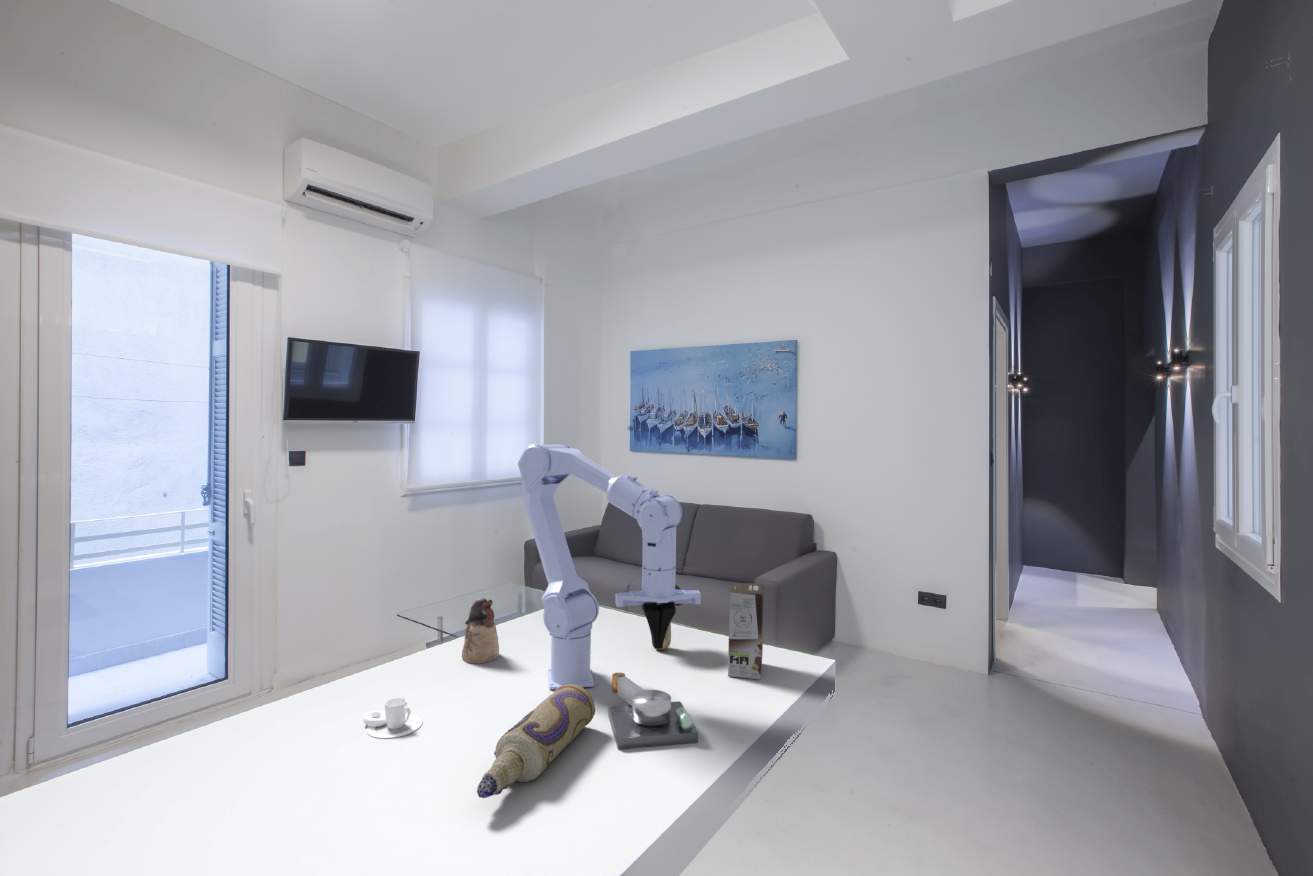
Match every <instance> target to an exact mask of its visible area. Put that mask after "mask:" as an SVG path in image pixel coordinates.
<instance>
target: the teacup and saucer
mask: <svg viewBox="0 0 1313 876" xmlns="http://www.w3.org/2000/svg"><path fill="white" fill-rule="evenodd" d="M407 701H408V700H407V699H406V698H402V697H396V698H390V699H388V700H387V701H385V703H384V710H380V709H379V710H378V709H377V710H371V711H368V712H367V713H366V714H365V715H364V716H363V723H364V724H365V726H367V727H366V731H365V732H366V733H367V735H369V736H370V737H373V738H375V739H395V738H401V737H404V736H406V735H409V734H411V733H414V732H415V731H417V730H418V729H420V728H421V727H422V725H423V719H422V718H421V717H420V716H418V715H415V714H411V708H410V707H409V706H407V705H408V704H407V703H408V702H407ZM409 720H410V721H413V725H412V726H411V728H409V729H407V730H405V731H403V732H399V733H395V734H381V733H379V732H377V731H376V728H378V727H379V728H380V727H383V726H385V725H387V728H388V729H390V730H398V729H400V728H402V727H403V726H404V725H405V724H406V723H407V722H408V721H409Z"/></svg>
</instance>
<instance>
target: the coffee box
mask: <svg viewBox="0 0 1313 876" xmlns="http://www.w3.org/2000/svg"><path fill="white" fill-rule="evenodd" d="M764 602H765V601H764V584H763V583H751V582H746V583H745V582H743V583H742V582H741V583H740V582H733V583H732V584H731V587H730V590H729V615H728V617H729V619H728V651H727V653H728V654H727V655H728V656H727V657H728V659H727V661H728V662H727V677H730V678H731V677H733V678H742V679H750V680H751V679H752V680H760V679H761V676H762V667H763V648H764V647H763V646H764V644H763V643H764V642H763V641H764V604H765V603H764Z"/></svg>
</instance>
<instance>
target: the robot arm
mask: <svg viewBox="0 0 1313 876" xmlns="http://www.w3.org/2000/svg"><path fill="white" fill-rule="evenodd" d="M517 466H518V469H519V471H520V472H519V473H520V476H521V480H522V481H521V496H522V501H523V504H524V507H525V511H526V514H527V517H528V520H529V524H530V527H531V531H532V535H533V538H534V541H535V544H536V548H537V551H538V554H539V559H540V562H541V563H542V564H541V565H542V567H543V572H544V575H545V578H546V582H547V584H548V586H547V588H546V589H545V592H544V593H543V595H542V598H541V601H542V605H543V616H542V617H543V618H542V619H543V623H544V625H545V628H546V629H547V631H548V632H549V636H551V645H550V646H551V647H550V649H551V650H550V651H551V652H550V654H551V655H550V656H551V657H550V667H548V668H547V678H548V679H547V680H548V688H549V689H550V690H556V689H557V688H558V687H560V686H562V685H565V684H574V685H578V686H581V687H583V688H592V687H595V682H594V678H593V674H592V671H591V653H592V652H591V646H592V644H591V643H592V629H593V623H594V622H595V621H596V620H597V618H598V616H599V614H600V613H599V612H600V605H599V602H598V599H597V598H596V596H594V594H593V593H592V592H591V590H590V587H589V584H588V582H587V581H585V580H584V579H583V578H581V577H580V576H578V574H577V572H576V568H575V565H574V562H573V561H574V560H573V559H572V555H571V552H570V551H571V550H570V549H569V545H568V542H567V538H566V535H565V532H564V528H563V525H562V522H561V519H560V515H559V512H558V509H557V506H556V502H555V499H554V495H555V493H556V491H558V488H559V487H560V486H561V484H563V483H564V482H565V481H566V479H568V477H569V476H570V475H572V476H573V477H574V476H575V477H576V478H578V479H580V480H582V481H584V482H586V483H587V484H589V485H591V486H593V487H595V488H597V489H598V490H600V491H602V492H604V493H605V494H606V499H607V501H608V503H610V504H611V505H613V506H614V507H616V508H618V509H619V510H621V511H623V512H624V513H626V514H627V515H629V516H630V517H632V518H634V519H635V520H636V521H637V524H638V526H639V527H640V529H641V539H642V554H641V555H642V556H641V558H642V560H641V561H642V563H641V564H642V565H641V566H642V567H641V589H642V590H641V589H639V590H633V591H624V592H615V596H614V597H615V601H614V602H615V607H617V608H622V607H625V606H627V607H628V606H641V609H642V611H643V613H644V616H645V618H646V620H647V624H648V628H649V632H650V636H651V643H652V644H651V645H652V647H653V648H654V650H658V649H662V648H663V643H664V638H665V635H666V632H667V629H668V626H669V624H670V622H671V623H672V620H673V619H674V616H675V614H676V612H677V611H676V606H674V604H682V605H684V604H686V605H687V604H694V605H701V604H702V603H701V602H702V601H701V599H702V592H700V591H699V590H698V589H696V590H693V589H692V590H691V589H690V590H689V589H687V590H686V589H681V590H675V584H676V572H677V571H676V570H677V569H676V567H677V566H676V565H677V526H678V525H679V524H680V522H681V521H682V516H683V509H682V505H681V503H680V502H679V501H678V500H677V499H676V498H675V497H674V496H673V495H671V494H663V495H660V494H659V490H658V489H656V488H650V487H648V486H645V484H643V483H641V482H640V481H637V479H638V477H637V476H636V475H634V474H628V475H627V474H621V475H619V476H616V475H614V474H613V473H611V472H610V471H608V470H607V469H606V468H604V467H602V465H599V464H598V463H597V462H595V461H593V460H592V459H590V458H589V457H587V456H586V455H584V454H583V453H582V452H581V451H580V449H578V448H577V449H576V448H574V447H572V446H571V445H569V444H566V443H559V444H540V443H532V444H530V445H527V446H526V447H525V448H524V450H523V452H522V453H521V455H520V458H519V460H518V462H517Z"/></svg>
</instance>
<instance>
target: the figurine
mask: <svg viewBox="0 0 1313 876" xmlns="http://www.w3.org/2000/svg"><path fill="white" fill-rule="evenodd" d="M492 605H493V600H492V599H486V598H485V597H480V598H477V599H476V600H475V601H474V602H473V603H472V604H471V606H470V610H469V613H468V618H467V620H465V622H464V623H465V625H467V626H466V628H465V631H464V641H463V642H464V643H463V646H462V651H461V659H462V662H465V663H469V664H483V663H489V662H493V661H495V660H497V659H498V657H499V655H500V643H499V637H498V632H497V626H496V624H495V612H494V610H493V608H492Z"/></svg>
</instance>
